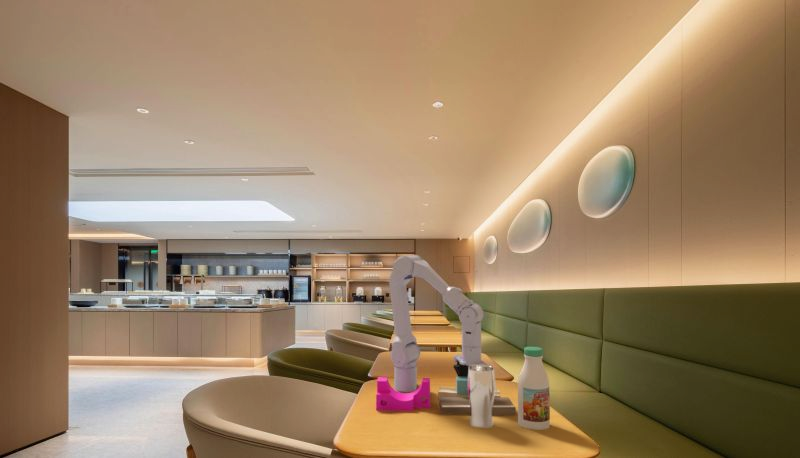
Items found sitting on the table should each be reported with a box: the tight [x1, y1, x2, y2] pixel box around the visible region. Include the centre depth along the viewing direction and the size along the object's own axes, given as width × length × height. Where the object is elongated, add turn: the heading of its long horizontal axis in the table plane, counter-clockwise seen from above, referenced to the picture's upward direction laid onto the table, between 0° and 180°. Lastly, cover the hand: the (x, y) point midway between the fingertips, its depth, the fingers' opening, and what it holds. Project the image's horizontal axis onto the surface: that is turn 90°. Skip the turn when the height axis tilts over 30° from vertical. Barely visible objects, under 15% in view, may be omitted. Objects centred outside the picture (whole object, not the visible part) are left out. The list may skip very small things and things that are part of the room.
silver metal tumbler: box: [468, 364, 496, 429], centre depth 117 cm, size 7×7×15 cm
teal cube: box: [455, 375, 468, 394], centre depth 137 cm, size 4×4×4 cm
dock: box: [438, 396, 516, 416], centre depth 129 cm, size 8×20×2 cm, turn 90°
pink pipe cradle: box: [375, 376, 431, 412], centre depth 132 cm, size 15×6×8 cm, turn 87°
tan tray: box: [437, 386, 501, 401], centre depth 138 cm, size 5×18×3 cm, turn 78°
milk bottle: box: [517, 346, 551, 431], centre depth 117 cm, size 8×8×20 cm
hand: (471, 391), depth 137 cm, fingers closed on tan tray, 6 cm apart
